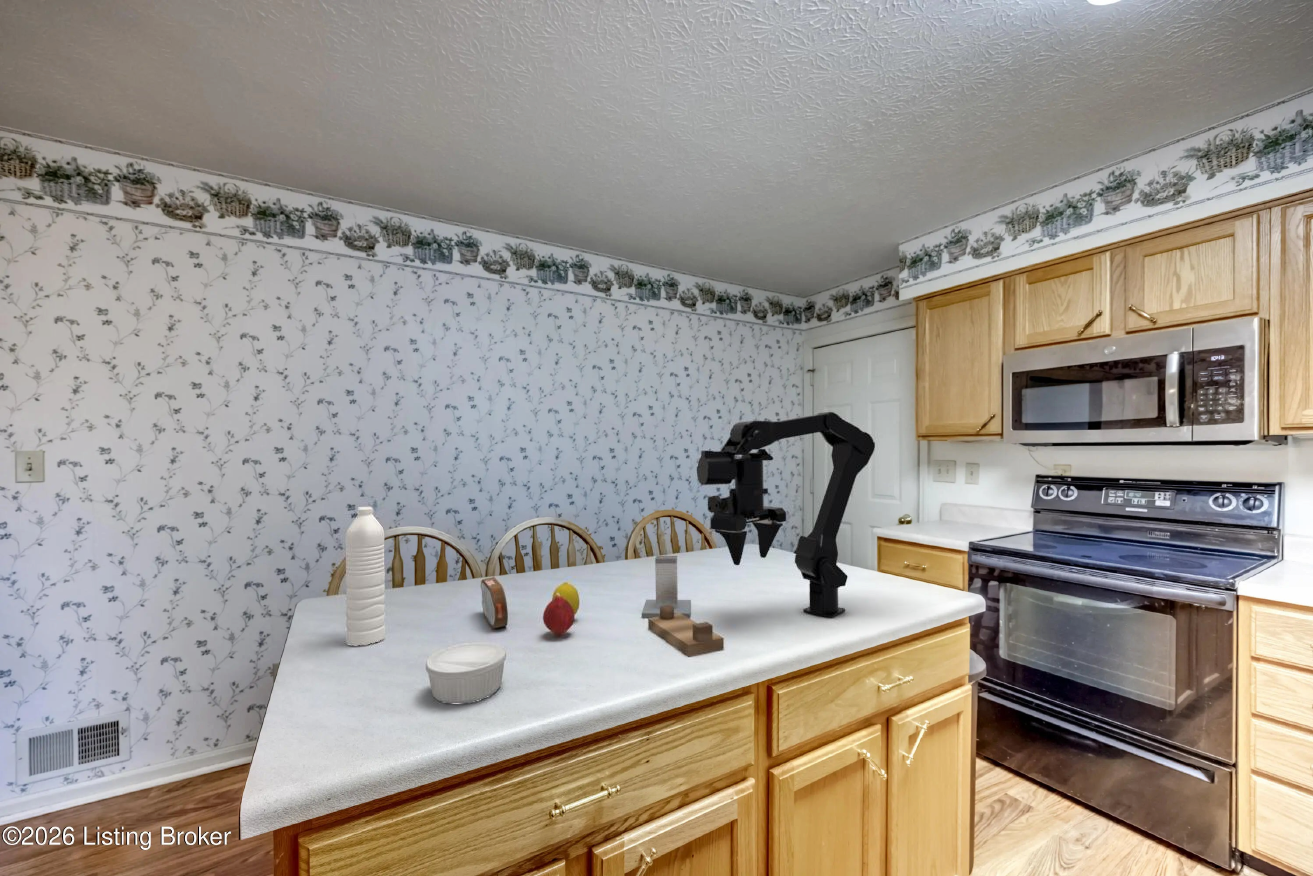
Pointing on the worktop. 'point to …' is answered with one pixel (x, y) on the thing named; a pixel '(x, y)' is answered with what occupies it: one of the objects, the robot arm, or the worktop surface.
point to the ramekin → (466, 671)
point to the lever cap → (666, 581)
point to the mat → (652, 611)
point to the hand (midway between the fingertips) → (750, 561)
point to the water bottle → (365, 579)
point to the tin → (494, 602)
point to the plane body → (685, 632)
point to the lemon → (568, 595)
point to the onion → (558, 615)
